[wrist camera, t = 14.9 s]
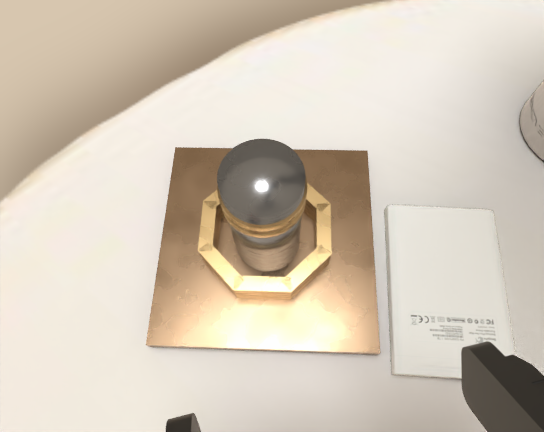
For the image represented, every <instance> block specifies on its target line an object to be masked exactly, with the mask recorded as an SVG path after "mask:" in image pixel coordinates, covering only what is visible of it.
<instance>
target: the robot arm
mask: <svg viewBox="0 0 544 432" xmlns="http://www.w3.org/2000/svg"><path fill="white" fill-rule="evenodd" d="M520 126H521V131H522V133H523V136H524V139H525V140H526V142H527V143H528V145H529V147H530V148H531V149H532V150H533V151H534V152H535V153H536V154H537V155H538V156H539V157H540V158H541V159H543V160H544V80H543V82H542V83H541V84H540V85H539V87H538V88H537V89H536V90H535V92H534V93H533V94H532V95H531V97H530V98H529V99H528V100H527V102H526V103H525V104H524V106H523V108H522V111H521V116H520ZM461 370H462V391H463V394H464V397H465V400H466V402H467V404H468V406H469V408H470V409H471V410H472V412H473V413H474V414H475V416H476V417H477V418H478V420H479V421H480V422H481V424H482V425H483V426H484V428H485V429H486V430H487V432H544V376H543V375H542V374H541V373H540V372H539V371H538V370H537V369H536V368H535V367H534V366H533V365H531V364H530V363H528V362H526V361H524V360H522V359H520V358H518V357H516V356H514V355H509V356H504V355H503V354H502V353H501V352H500V351H499V350H498V349H497V348H496V347H495V346H494V345H493V344H492V343H491V342H489V341H486V342H482V343H478V344H474V345H470V346H466V347H463V348H462V351H461ZM166 432H201V431H200V427H199V424H198V421H197V418H196V416H195V414H194V413H192V414H188V415H184V416H180V417H176V418H172V419H168V421H167V424H166Z"/></svg>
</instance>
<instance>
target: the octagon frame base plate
mask: <svg viewBox="0 0 544 432" xmlns="http://www.w3.org/2000/svg"><path fill="white" fill-rule="evenodd" d="M232 149H233V148H177V147H175V154H174V161H173V167H172V174H171V181H170V187H169V194H168V201H167V207H166V214H165V221H164V228H163V234H162V241H161V248H160V254H159V261H158V268H157V274H156V281H155V288H154V294H153V301H152V308H151V314H150V321H149V328H148V334H147V341H146V345H147V346H150V347H172V348H200V349H229V350H257V351H286V352H314V353H343V354H372V355H378V354H379V353H380V343H379V327H378V311H377V295H376V279H375V264H374V248H373V232H372V216H371V200H370V184H369V168H368V153H367V151H348V150H294V151H295V152H296V153H297V155H298V156H299V157H300V159H301V161H302V163H303V165H304V169H305V175H306V179H307V196H306V204H305V209H304V212H303V214H302V220H301V230H300V240H299V247H298V251H297V253H296V255H295V257H294V258H293V260H292V261H291V262H290V263H289V264H287V265H286V266H285V267H283V268H281V269H278V270H275V271H259V270H256V269H253V268H251V267H250V266H248V265H247V264H246V263H245V262H244V261H243V260H242V259H241V258H240V256H239V254H238V252H237V248H236V245H235V242H234V238H233V235H232V232H231V228H230V225H229V222H228V221H227V219H226V218H225V216H224V214H223V211H222V208H221V204H220V201H219V198H218V193H217V173H218V169H219V166H220V164H221V161H222V160H223V158H224V157H225V156H226V155H227V153H228V152H229V151H231V150H232Z"/></svg>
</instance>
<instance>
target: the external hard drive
mask: <svg viewBox="0 0 544 432" xmlns="http://www.w3.org/2000/svg"><path fill="white" fill-rule="evenodd" d="M384 217H385V240H386V263H387V285H388V308H389V332H390V353H391V360H390V361H391V374H392V375H407V376H421V377H436V378H456V379H462V370H461V351H462V348H463V347H466V346H470V345H474V344H478V343H482V342H486V341H489V342H491V343H492V344H493V345H494V346H495V347H496V348H497V349H498V350H499V351H500V352H501V353H502V354H503V355H504V356H509V355H514V356H515V348H514V342H513V335H512V329H511V322H510V315H509V308H508V302H507V295H506V289H505V282H504V276H503V269H502V263H501V256H500V249H499V243H498V237H497V231H496V224H495V218H494V212H493V210H488V209H471V208H450V207H433V206H411V205H388V206H387V207H386V209H385V210H384Z"/></svg>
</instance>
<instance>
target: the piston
mask: <svg viewBox="0 0 544 432" xmlns="http://www.w3.org/2000/svg"><path fill="white" fill-rule="evenodd" d="M217 193H218V198H219V201H220V204H221V208H222V211H223V214H224V216H225V218H226V219H227V221H228V222H229V225H230V228H231V232H232V235H233V238H234V242H235V245H236V248H237V252H238V254H239V256H240V258H241V259H242V260H243V261H244V262H245V263H246V264H247V265H248V266H250V267H251V268H253V269H256V270H259V271H275V270H278V269H281V268H283V267H285V266H286V265H287V264H289V263H290V262H291V261H292V260H293V258H294V257H295V255H296V253H297V251H298V247H299V240H300V230H301V220H302V214H303V212H304V209H305V204H306V196H307V179H306V175H305V169H304V165H303V163H302V161H301V159H300V157H299V156H298V155H297V153H296V152H295V151H294V150H293V149H291V148H290V147H288V146H287V145H285V144H283V143H281V142H278V141H275V140H270V139H255V140H250V141H246V142H244V143H241V144H239V145H238V146H236V147H234V148H233V149H232V150H231V151H229V152H228V153H227V155H226V156H225V157H224V158H223V160H222V161H221V164H220V166H219V169H218V173H217Z"/></svg>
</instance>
